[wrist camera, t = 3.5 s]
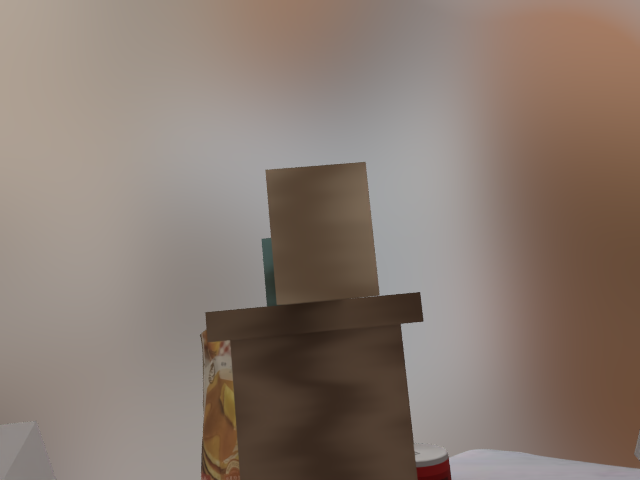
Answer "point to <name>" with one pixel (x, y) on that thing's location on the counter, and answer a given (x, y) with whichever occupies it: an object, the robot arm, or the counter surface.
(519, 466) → the counter surface
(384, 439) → the walnut pedestal
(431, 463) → the canned food
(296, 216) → the oak beam
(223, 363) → the pancake mix bag
